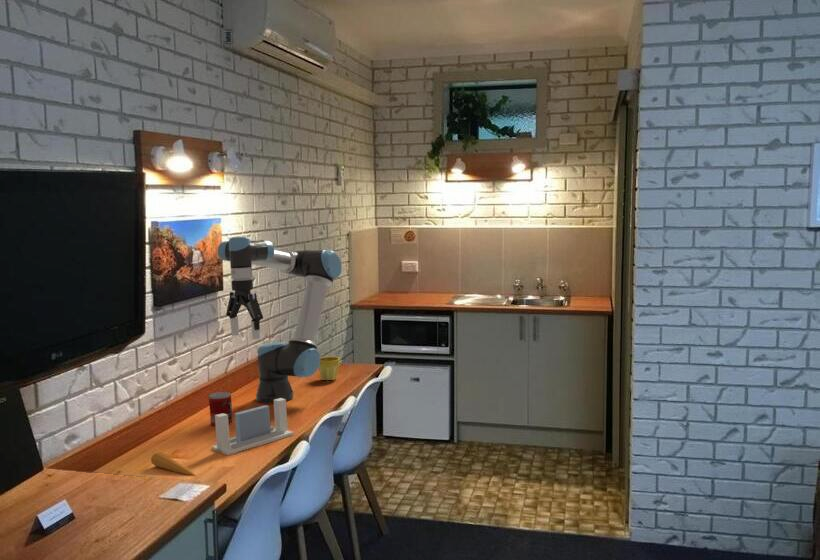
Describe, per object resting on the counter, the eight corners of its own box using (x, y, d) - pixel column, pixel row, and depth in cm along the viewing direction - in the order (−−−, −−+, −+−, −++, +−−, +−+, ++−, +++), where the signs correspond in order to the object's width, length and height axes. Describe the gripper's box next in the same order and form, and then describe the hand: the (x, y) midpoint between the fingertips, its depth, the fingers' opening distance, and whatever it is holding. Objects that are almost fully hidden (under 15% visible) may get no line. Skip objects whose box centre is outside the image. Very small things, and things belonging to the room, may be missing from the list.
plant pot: (341, 376, 334) (340, 355, 333) (340, 381, 324) (339, 360, 323) (318, 377, 333) (317, 356, 332) (317, 383, 323) (315, 361, 322)
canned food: (227, 427, 261) (225, 397, 260) (206, 426, 263) (204, 397, 262) (236, 420, 269) (234, 391, 268) (216, 420, 271) (214, 391, 269)
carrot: (151, 467, 223) (146, 456, 221) (162, 458, 226) (158, 447, 224) (194, 487, 212) (190, 476, 210) (206, 478, 215) (202, 466, 213)
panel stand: (276, 429, 256) (274, 396, 255) (293, 434, 249) (291, 400, 248) (211, 449, 237) (209, 413, 236) (228, 455, 230) (225, 418, 229)
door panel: (266, 433, 248) (264, 405, 247) (270, 434, 247) (269, 406, 246) (236, 442, 240) (234, 413, 239) (240, 444, 238) (238, 414, 237)
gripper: (214, 279, 268) (218, 335, 270) (252, 281, 250) (256, 342, 252) (231, 277, 273) (235, 332, 275) (270, 279, 256) (274, 338, 258)
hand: (245, 337), depth 264 cm, fingers open, 13 cm apart
